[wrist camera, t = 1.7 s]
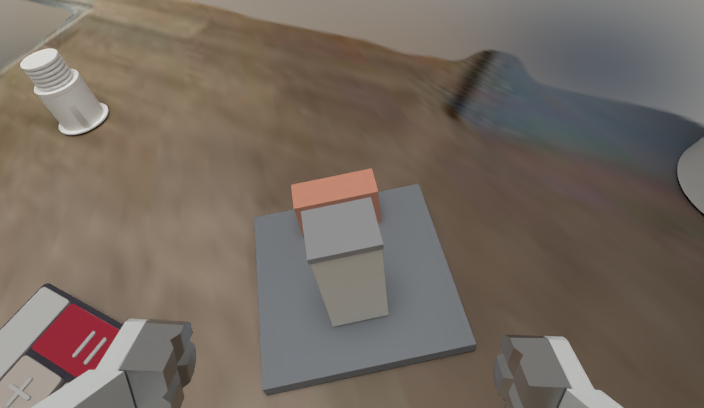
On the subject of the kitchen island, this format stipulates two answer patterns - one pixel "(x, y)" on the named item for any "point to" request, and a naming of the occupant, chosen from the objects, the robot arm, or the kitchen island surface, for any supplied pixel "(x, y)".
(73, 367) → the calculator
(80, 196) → the kitchen island surface
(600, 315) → the kitchen island surface
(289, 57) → the kitchen island surface
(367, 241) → the beige rectangular block
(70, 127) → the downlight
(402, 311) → the base
